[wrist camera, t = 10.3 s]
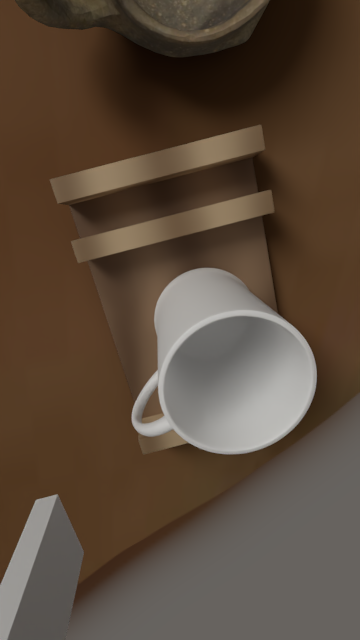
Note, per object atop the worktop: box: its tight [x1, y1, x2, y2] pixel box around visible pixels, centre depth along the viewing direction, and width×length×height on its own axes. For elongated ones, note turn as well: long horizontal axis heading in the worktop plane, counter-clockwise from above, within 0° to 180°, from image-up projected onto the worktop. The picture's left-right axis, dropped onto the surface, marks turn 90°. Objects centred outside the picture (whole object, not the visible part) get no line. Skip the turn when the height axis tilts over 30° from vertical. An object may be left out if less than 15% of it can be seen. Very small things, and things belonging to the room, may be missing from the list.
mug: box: [132, 268, 317, 454], centre depth 23 cm, size 12×8×12 cm
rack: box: [50, 125, 278, 454], centre depth 27 cm, size 14×22×4 cm, turn 14°
